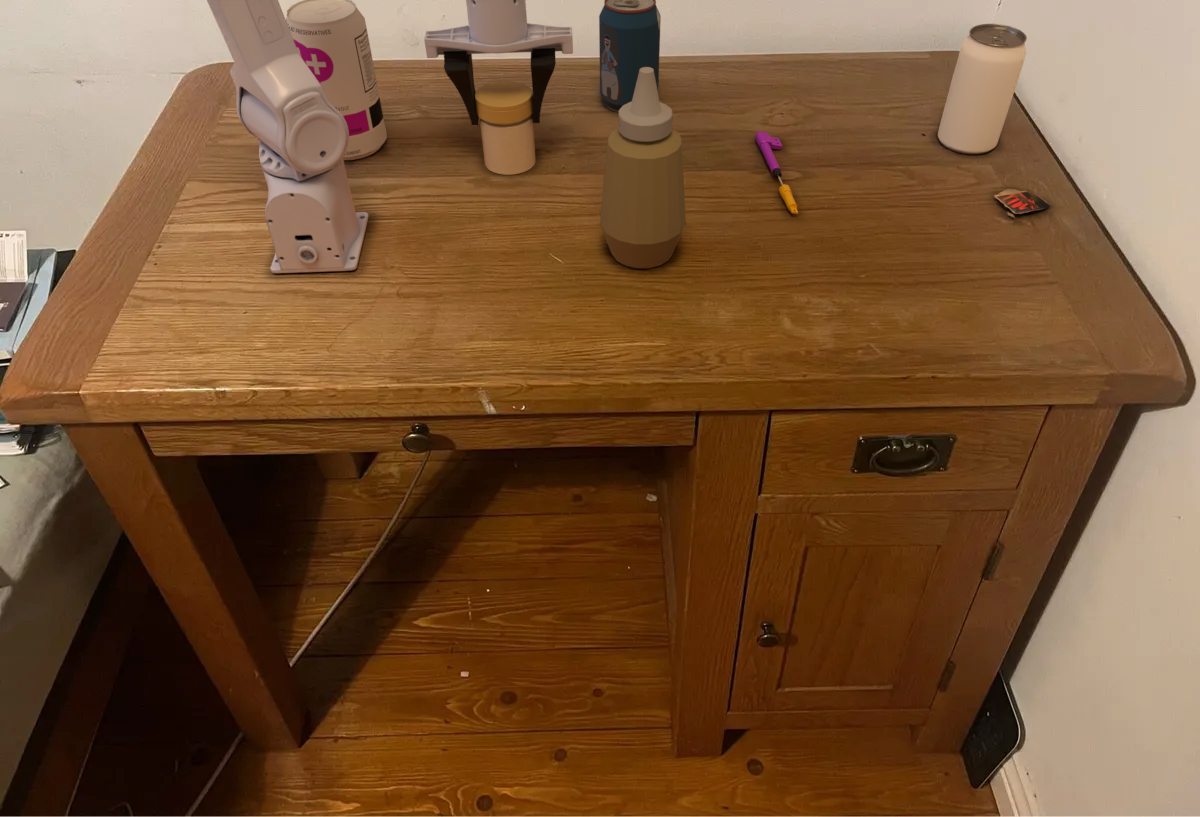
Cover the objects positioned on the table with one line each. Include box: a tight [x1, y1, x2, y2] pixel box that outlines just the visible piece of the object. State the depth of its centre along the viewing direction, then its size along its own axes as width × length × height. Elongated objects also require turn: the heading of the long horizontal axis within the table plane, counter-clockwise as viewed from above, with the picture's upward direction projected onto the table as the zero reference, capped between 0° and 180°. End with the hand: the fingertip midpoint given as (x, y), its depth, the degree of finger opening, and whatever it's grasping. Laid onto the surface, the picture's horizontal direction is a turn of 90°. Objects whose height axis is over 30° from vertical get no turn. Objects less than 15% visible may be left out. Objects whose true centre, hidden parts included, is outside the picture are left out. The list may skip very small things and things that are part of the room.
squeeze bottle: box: [599, 67, 687, 269], centre depth 81 cm, size 8×8×18 cm
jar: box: [479, 113, 537, 176], centre depth 98 cm, size 6×6×7 cm
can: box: [937, 23, 1028, 156], centre depth 98 cm, size 6×6×12 cm
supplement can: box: [285, 0, 388, 161], centre depth 98 cm, size 8×8×15 cm
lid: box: [475, 80, 533, 124], centre depth 95 cm, size 6×6×2 cm
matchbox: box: [993, 188, 1051, 220], centre depth 93 cm, size 5×5×1 cm
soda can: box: [598, 0, 662, 114], centre depth 106 cm, size 7×7×12 cm
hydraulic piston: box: [754, 130, 799, 215], centre depth 97 cm, size 3×1×16 cm
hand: (506, 119), depth 97 cm, fingers closed on lid, 6 cm apart
